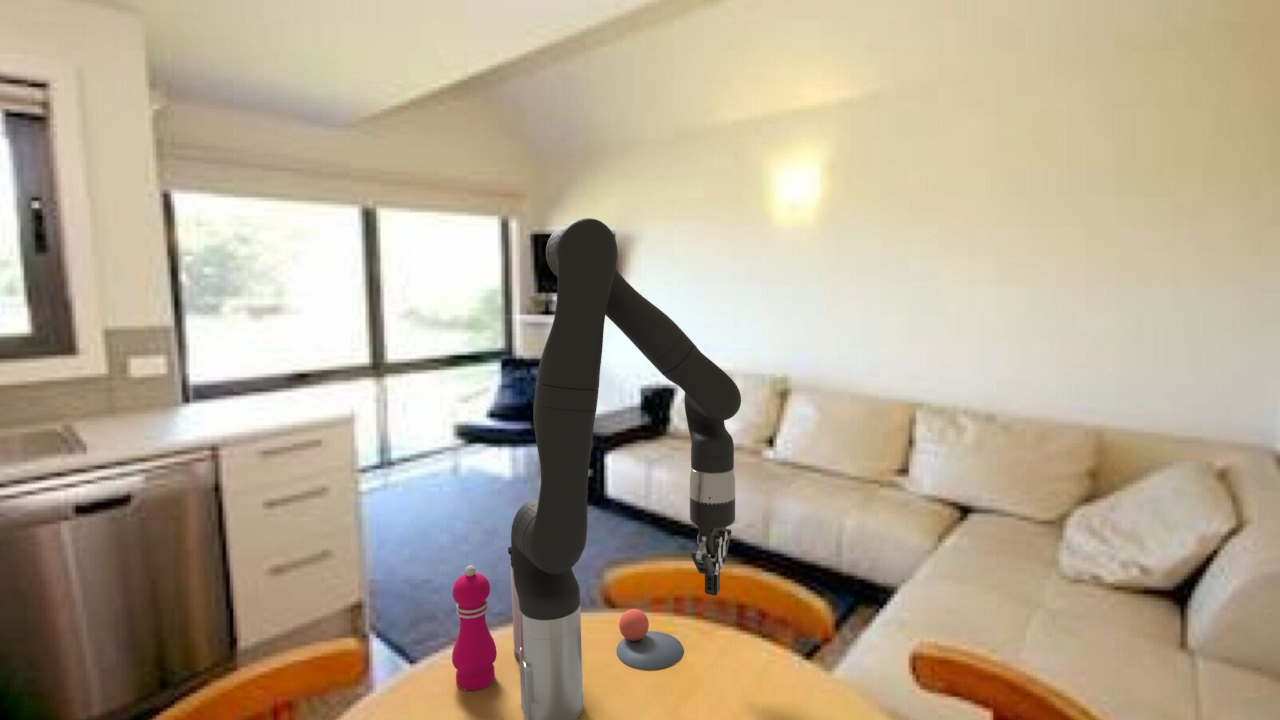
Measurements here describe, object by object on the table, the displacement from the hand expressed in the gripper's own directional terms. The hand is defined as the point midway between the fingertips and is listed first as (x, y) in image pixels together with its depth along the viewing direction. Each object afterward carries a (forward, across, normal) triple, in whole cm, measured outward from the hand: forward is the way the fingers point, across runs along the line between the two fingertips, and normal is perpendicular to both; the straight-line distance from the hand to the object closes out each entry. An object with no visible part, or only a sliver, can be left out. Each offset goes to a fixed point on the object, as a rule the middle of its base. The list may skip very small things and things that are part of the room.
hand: (712, 592), depth 109 cm
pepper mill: (+14, -20, +34) cm, 42 cm away
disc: (+14, 0, +12) cm, 18 cm away
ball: (+11, +2, +16) cm, 20 cm away
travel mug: (+14, -10, +31) cm, 35 cm away
